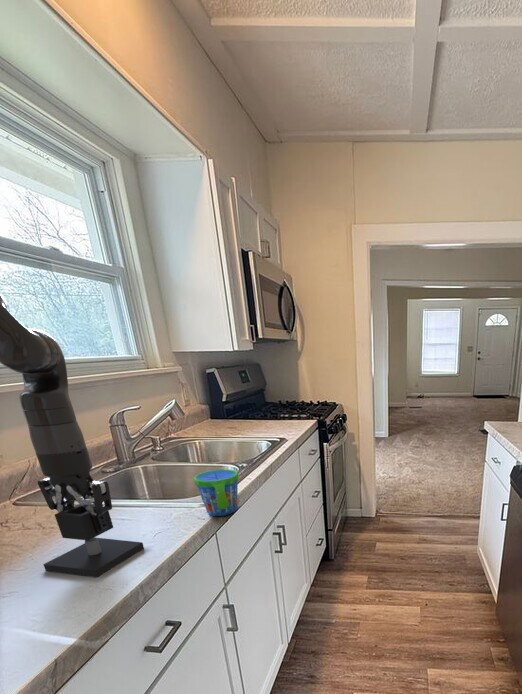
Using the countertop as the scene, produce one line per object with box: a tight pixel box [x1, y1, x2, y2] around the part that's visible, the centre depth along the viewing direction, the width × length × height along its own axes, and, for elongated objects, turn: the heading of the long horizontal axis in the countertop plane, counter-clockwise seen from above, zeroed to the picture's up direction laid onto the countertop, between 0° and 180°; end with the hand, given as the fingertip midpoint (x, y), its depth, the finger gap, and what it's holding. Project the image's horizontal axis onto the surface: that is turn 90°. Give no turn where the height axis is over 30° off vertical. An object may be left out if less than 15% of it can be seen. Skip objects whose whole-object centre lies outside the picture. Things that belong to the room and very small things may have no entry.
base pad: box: [42, 536, 145, 578], centre depth 82 cm, size 12×12×4 cm
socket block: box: [54, 503, 114, 541], centre depth 79 cm, size 6×6×5 cm
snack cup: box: [193, 469, 240, 517], centre depth 104 cm, size 16×10×10 cm
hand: (87, 529), depth 80 cm, fingers closed on socket block, 6 cm apart
